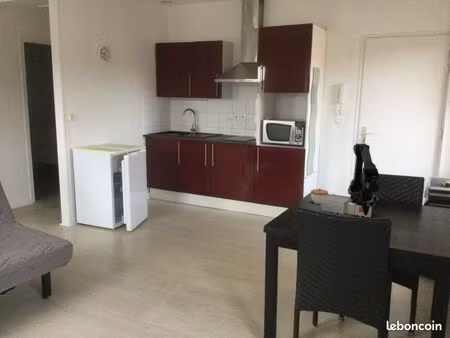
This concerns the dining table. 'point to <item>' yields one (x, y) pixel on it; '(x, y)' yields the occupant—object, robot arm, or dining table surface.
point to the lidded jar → (318, 195)
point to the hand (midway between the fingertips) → (366, 214)
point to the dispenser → (334, 204)
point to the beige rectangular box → (356, 210)
